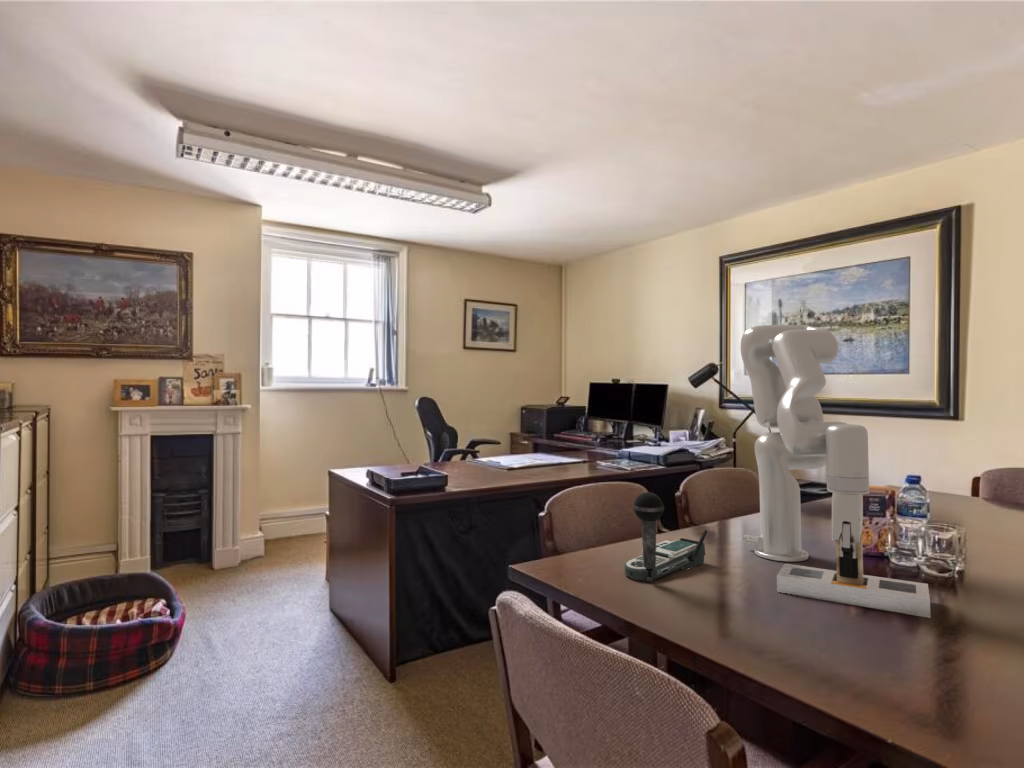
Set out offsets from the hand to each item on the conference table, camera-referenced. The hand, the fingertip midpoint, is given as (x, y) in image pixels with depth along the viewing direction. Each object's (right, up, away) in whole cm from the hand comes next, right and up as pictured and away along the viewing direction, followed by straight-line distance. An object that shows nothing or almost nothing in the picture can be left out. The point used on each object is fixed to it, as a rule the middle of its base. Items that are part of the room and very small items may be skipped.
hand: (849, 573), depth 116 cm
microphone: (-39, -6, +10) cm, 40 cm away
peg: (0, -2, 0) cm, 2 cm away
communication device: (-33, -6, +20) cm, 40 cm away
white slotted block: (0, -5, 0) cm, 5 cm away
